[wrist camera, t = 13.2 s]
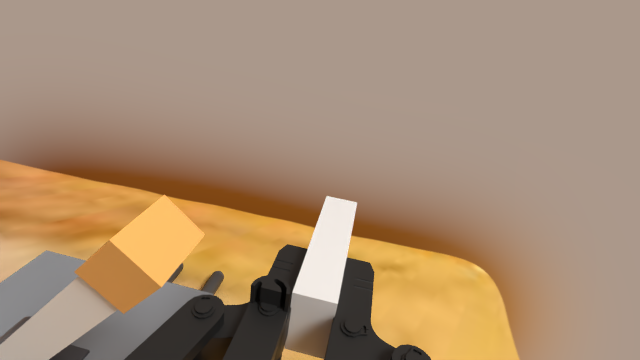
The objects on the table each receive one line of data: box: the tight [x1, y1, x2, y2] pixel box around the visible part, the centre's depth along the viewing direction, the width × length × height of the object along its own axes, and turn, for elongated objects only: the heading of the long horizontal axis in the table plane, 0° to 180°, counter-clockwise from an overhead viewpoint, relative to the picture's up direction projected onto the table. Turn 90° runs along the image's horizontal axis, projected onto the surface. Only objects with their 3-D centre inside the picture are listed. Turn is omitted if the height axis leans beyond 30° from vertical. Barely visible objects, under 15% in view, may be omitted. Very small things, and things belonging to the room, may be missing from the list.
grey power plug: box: [0, 251, 224, 360], centre depth 27 cm, size 29×14×10 cm, turn 170°
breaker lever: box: [0, 195, 205, 360], centre depth 16 cm, size 4×2×15 cm
